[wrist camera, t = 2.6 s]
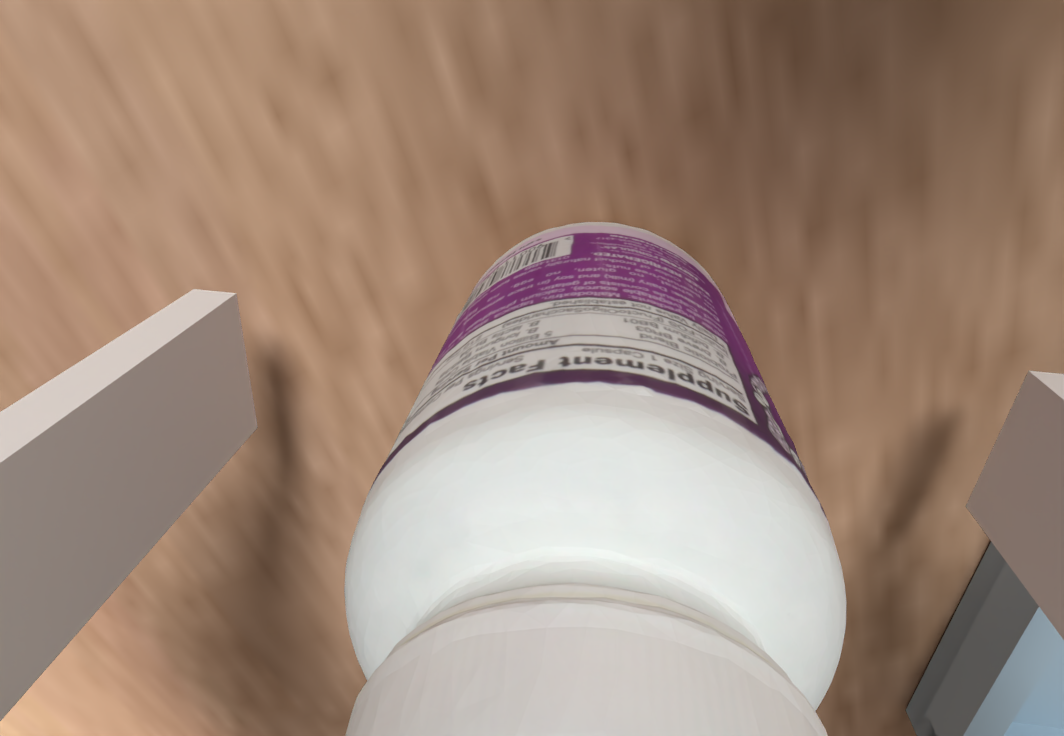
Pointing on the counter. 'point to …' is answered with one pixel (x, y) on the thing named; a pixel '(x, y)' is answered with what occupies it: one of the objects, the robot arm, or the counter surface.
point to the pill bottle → (594, 517)
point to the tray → (993, 664)
